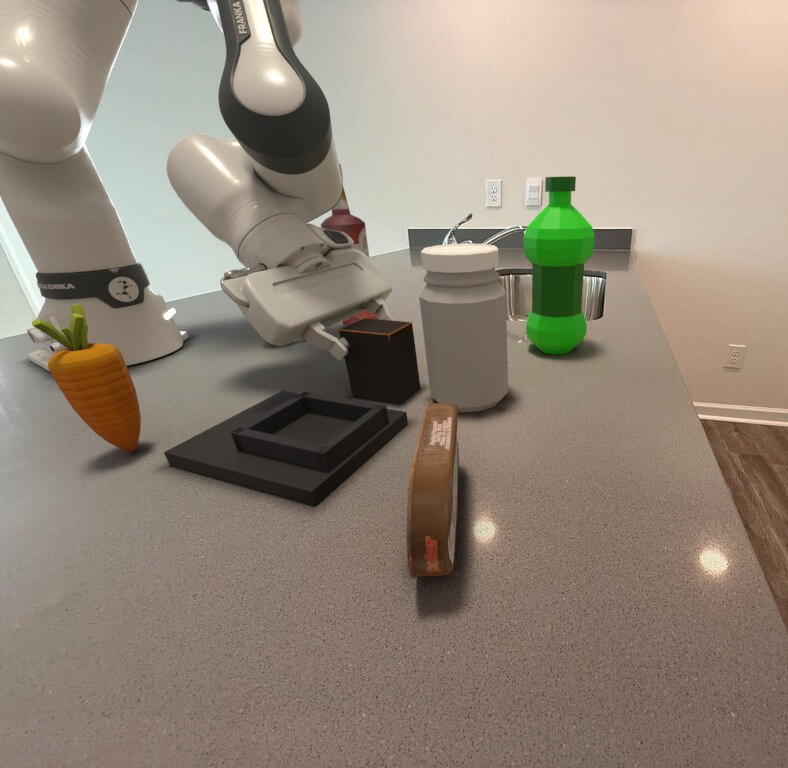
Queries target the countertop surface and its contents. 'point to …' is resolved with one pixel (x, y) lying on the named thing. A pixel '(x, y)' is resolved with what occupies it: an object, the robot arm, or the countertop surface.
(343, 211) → the liquor
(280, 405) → the base pad
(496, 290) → the jar
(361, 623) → the countertop surface
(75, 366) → the carrot
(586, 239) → the plastic bottle
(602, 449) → the countertop surface
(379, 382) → the pad block
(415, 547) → the tin
